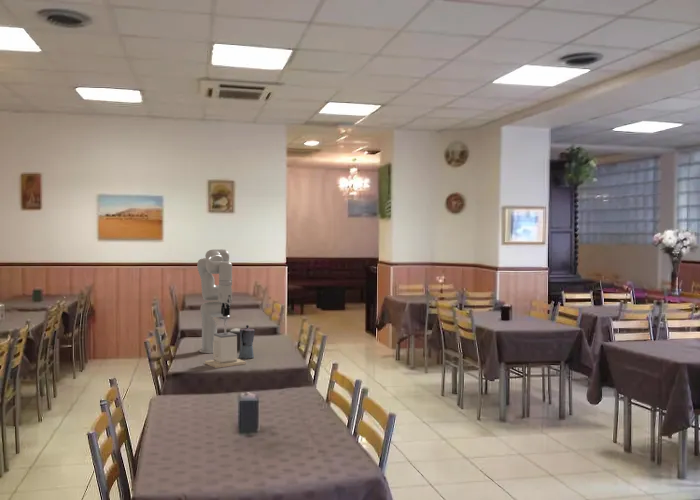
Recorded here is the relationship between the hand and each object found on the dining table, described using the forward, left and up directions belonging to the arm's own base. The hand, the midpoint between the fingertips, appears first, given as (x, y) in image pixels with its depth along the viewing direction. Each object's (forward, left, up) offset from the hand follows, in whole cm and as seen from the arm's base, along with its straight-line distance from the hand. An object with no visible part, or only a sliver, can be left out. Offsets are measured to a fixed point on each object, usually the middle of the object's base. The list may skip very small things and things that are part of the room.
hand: (225, 314), depth 384 cm
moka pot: (-8, +18, -29) cm, 35 cm away
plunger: (0, 0, -19) cm, 19 cm away
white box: (0, 0, -29) cm, 29 cm away
